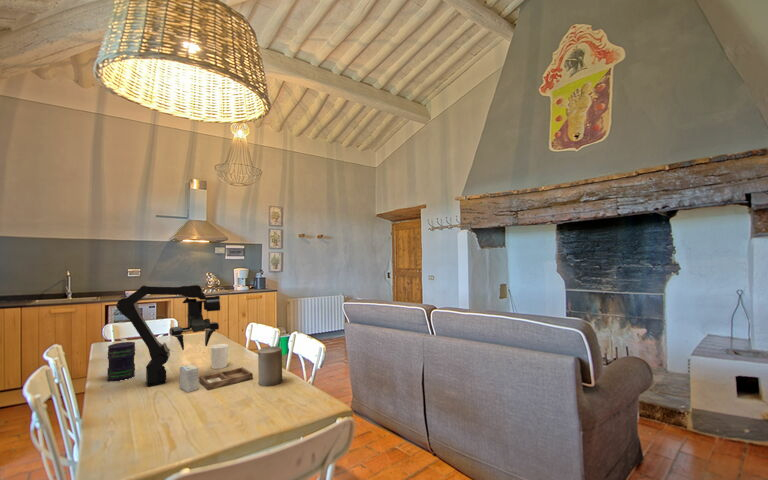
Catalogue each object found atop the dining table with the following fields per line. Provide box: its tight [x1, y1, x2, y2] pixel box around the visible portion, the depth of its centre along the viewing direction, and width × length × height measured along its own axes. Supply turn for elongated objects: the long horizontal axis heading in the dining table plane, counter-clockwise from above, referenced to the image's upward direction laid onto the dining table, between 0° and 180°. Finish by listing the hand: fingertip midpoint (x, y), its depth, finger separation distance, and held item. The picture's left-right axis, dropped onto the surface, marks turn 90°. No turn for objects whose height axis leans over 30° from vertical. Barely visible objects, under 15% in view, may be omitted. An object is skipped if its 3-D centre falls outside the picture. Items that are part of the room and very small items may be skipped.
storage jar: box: [107, 341, 136, 382], centre depth 156 cm, size 10×10×15 cm
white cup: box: [209, 343, 229, 370], centre depth 170 cm, size 8×8×10 cm
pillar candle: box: [257, 345, 283, 387], centre depth 148 cm, size 10×10×15 cm
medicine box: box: [179, 364, 200, 393], centre depth 142 cm, size 8×4×9 cm, turn 49°
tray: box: [198, 367, 254, 391], centre depth 150 cm, size 18×12×2 cm, turn 132°
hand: (194, 348), depth 155 cm, fingers open, 9 cm apart
